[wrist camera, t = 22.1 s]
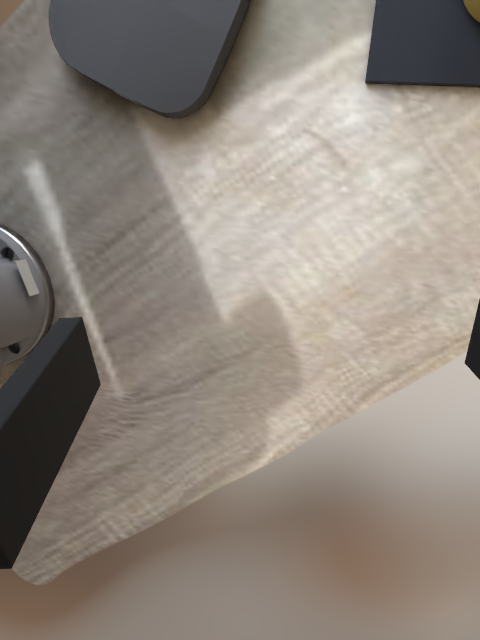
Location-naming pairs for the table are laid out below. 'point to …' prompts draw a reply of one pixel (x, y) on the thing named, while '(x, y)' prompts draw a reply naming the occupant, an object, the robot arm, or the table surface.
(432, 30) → the desk mat
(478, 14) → the paper tube
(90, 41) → the media streaming box
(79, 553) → the table surface
